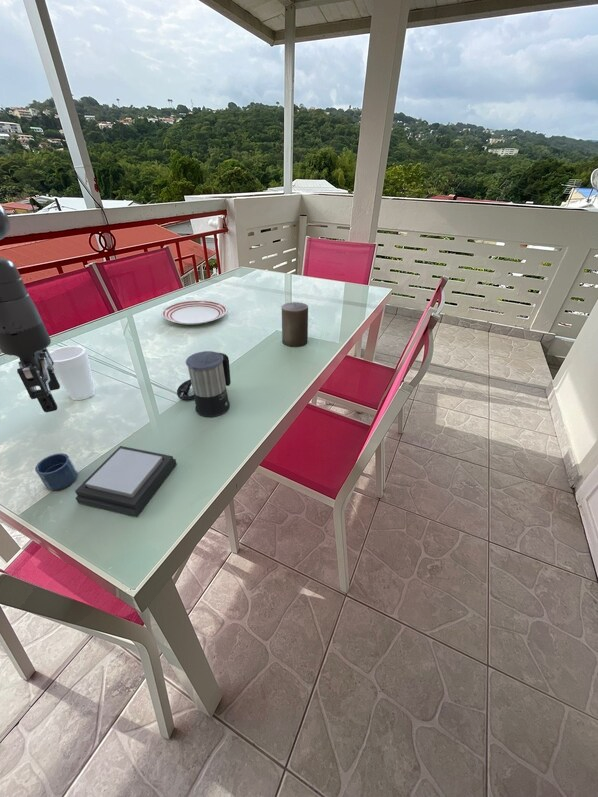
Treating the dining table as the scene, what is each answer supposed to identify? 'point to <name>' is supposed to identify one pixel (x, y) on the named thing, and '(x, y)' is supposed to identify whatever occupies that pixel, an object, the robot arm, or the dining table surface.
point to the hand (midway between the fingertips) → (53, 399)
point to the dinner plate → (194, 312)
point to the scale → (120, 502)
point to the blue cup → (56, 471)
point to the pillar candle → (294, 324)
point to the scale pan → (125, 473)
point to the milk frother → (207, 383)
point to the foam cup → (73, 371)
